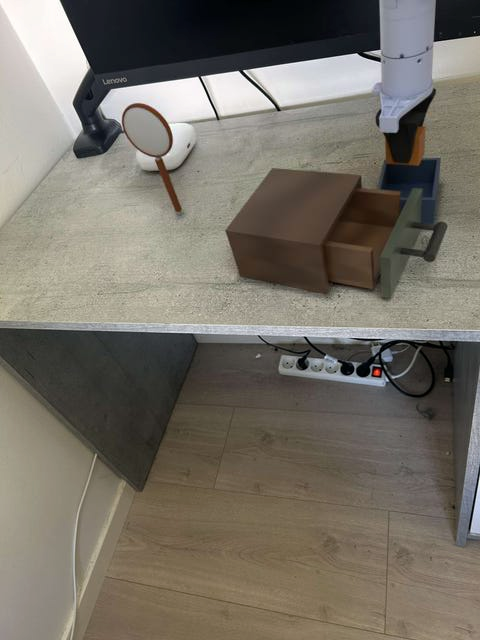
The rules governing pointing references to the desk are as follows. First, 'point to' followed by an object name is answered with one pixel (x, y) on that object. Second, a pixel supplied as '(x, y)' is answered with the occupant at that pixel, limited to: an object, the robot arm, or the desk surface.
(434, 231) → the drawer
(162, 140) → the magnifying glass
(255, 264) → the cabinet
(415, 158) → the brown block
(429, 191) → the open box
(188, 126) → the earbud case
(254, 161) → the desk surface
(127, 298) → the desk surface
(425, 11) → the robot arm
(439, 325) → the desk surface
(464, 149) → the desk surface
